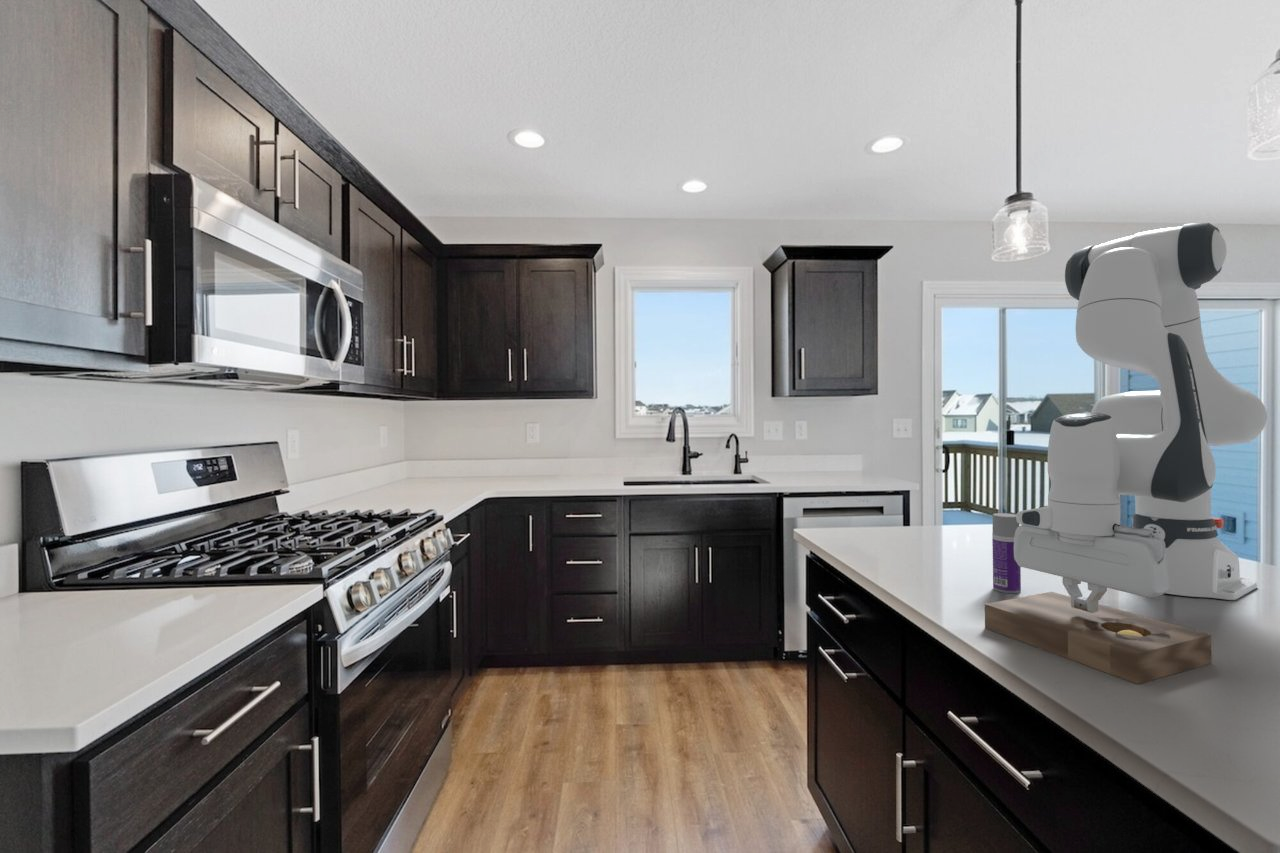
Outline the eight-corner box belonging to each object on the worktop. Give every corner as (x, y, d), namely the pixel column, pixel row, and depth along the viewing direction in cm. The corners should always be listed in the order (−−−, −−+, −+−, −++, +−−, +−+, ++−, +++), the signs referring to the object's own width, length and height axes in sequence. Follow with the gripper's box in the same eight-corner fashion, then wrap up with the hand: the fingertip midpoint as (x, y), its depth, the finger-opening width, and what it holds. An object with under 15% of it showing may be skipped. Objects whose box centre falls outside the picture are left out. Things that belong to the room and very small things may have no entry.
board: (1052, 614, 102) (1051, 591, 102) (1211, 663, 81) (1211, 634, 81) (985, 628, 96) (984, 604, 96) (1138, 684, 76) (1137, 653, 76)
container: (1025, 594, 113) (1024, 517, 113) (998, 593, 114) (997, 516, 114) (1014, 587, 118) (1013, 513, 118) (989, 586, 119) (988, 512, 119)
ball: (1118, 633, 87) (1142, 623, 84) (1137, 660, 84) (1163, 651, 81) (1100, 637, 85) (1123, 628, 82) (1119, 665, 83) (1144, 657, 80)
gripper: (1178, 529, 80) (1179, 629, 80) (1033, 508, 99) (1034, 589, 100) (1149, 533, 78) (1151, 636, 78) (1006, 511, 97) (1007, 594, 97)
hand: (1084, 609), depth 89 cm, fingers closed
